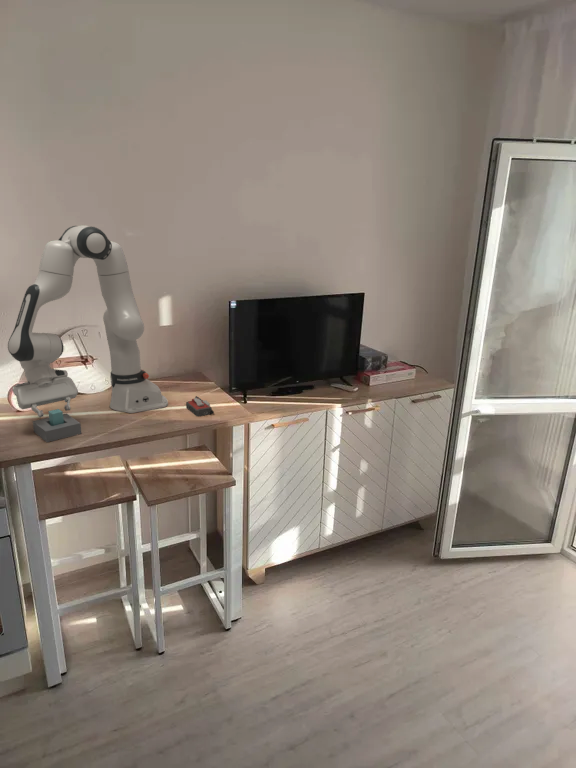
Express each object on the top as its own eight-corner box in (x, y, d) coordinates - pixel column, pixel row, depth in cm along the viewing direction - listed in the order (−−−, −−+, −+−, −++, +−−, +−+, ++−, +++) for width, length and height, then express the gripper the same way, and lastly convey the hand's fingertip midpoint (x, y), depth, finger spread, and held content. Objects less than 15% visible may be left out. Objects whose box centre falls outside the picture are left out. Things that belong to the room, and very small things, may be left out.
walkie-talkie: (218, 415, 224) (198, 399, 241) (218, 404, 223) (198, 389, 239) (197, 419, 220) (178, 402, 236) (197, 408, 219) (178, 392, 235)
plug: (60, 429, 206) (58, 408, 203) (64, 433, 203) (62, 411, 201) (50, 432, 203) (48, 411, 201) (54, 435, 201) (52, 414, 198)
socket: (67, 423, 211) (66, 413, 210) (81, 433, 203) (80, 423, 202) (33, 431, 204) (32, 421, 202) (47, 442, 195) (45, 431, 194)
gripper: (12, 380, 196) (25, 415, 193) (70, 369, 210) (85, 402, 206) (9, 389, 201) (22, 424, 197) (67, 378, 214) (80, 410, 210)
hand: (55, 412), depth 202 cm, fingers open, 8 cm apart
